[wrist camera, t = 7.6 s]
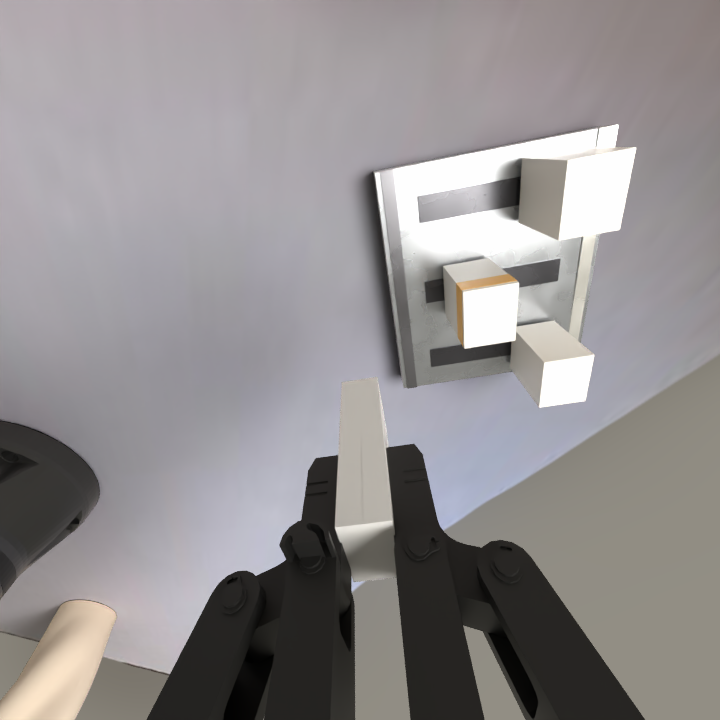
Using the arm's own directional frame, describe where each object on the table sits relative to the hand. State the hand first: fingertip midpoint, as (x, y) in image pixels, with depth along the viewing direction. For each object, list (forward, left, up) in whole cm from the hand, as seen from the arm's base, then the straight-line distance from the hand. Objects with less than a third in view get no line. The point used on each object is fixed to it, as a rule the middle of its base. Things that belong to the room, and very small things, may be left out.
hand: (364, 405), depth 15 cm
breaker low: (+12, -5, -11) cm, 18 cm away
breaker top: (+12, +6, -11) cm, 18 cm away
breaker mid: (+7, 0, -11) cm, 14 cm away
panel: (+9, 0, -14) cm, 17 cm away
